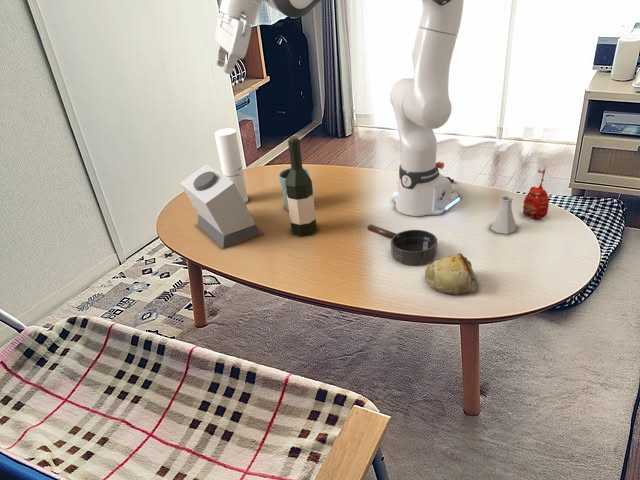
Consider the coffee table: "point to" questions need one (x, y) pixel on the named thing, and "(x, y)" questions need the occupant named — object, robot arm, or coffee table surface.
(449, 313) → the coffee table surface
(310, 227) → the wine bottle
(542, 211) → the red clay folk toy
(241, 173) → the cylindrical container
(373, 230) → the pan handle
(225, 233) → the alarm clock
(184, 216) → the coffee table surface
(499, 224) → the flask
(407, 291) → the coffee table surface
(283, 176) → the drinking glass
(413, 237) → the pan
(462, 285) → the pastry
